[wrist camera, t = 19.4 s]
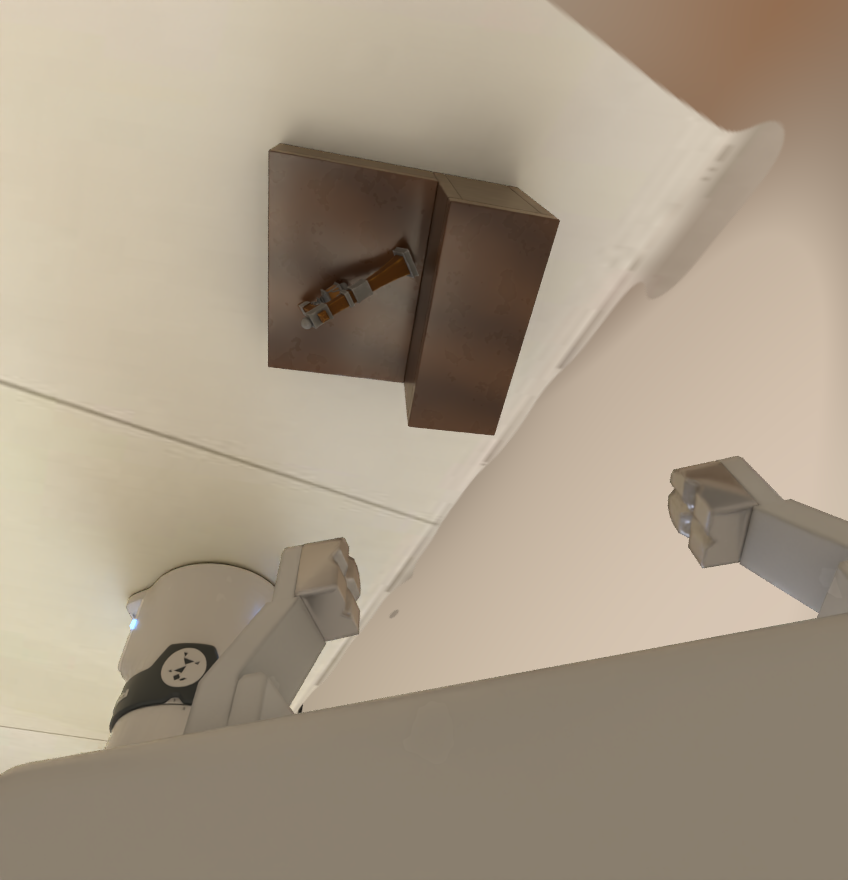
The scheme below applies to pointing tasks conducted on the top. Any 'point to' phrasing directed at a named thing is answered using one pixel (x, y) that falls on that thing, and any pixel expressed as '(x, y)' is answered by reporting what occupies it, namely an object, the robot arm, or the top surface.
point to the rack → (405, 279)
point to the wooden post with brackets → (355, 290)
